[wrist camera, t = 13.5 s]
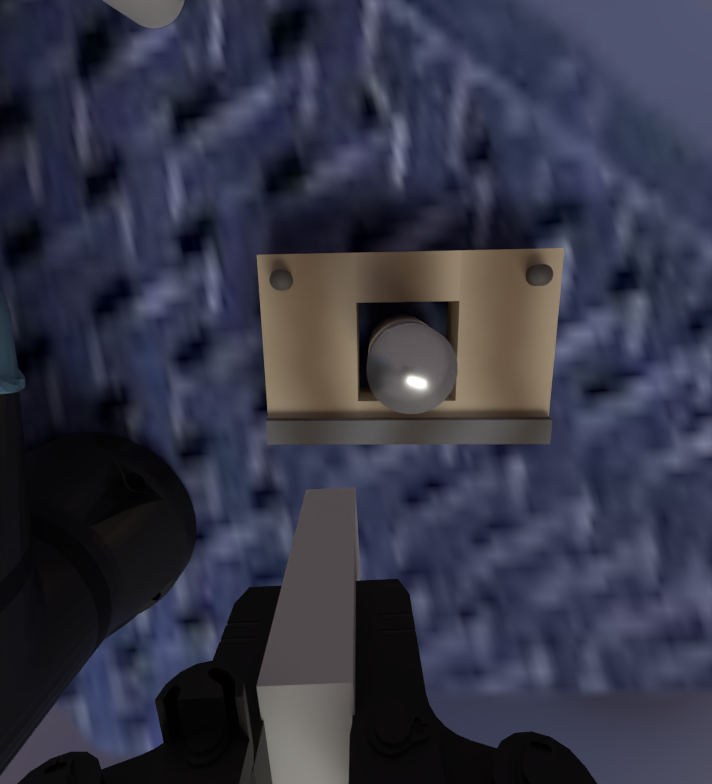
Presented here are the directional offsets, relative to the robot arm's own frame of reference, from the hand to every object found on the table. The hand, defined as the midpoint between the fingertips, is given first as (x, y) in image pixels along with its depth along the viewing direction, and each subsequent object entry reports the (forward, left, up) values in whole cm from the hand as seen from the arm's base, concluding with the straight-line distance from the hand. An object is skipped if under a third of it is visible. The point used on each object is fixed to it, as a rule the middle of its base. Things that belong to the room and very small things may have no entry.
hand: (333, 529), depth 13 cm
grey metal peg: (+3, +3, -19) cm, 19 cm away
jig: (+3, +3, -19) cm, 19 cm away
